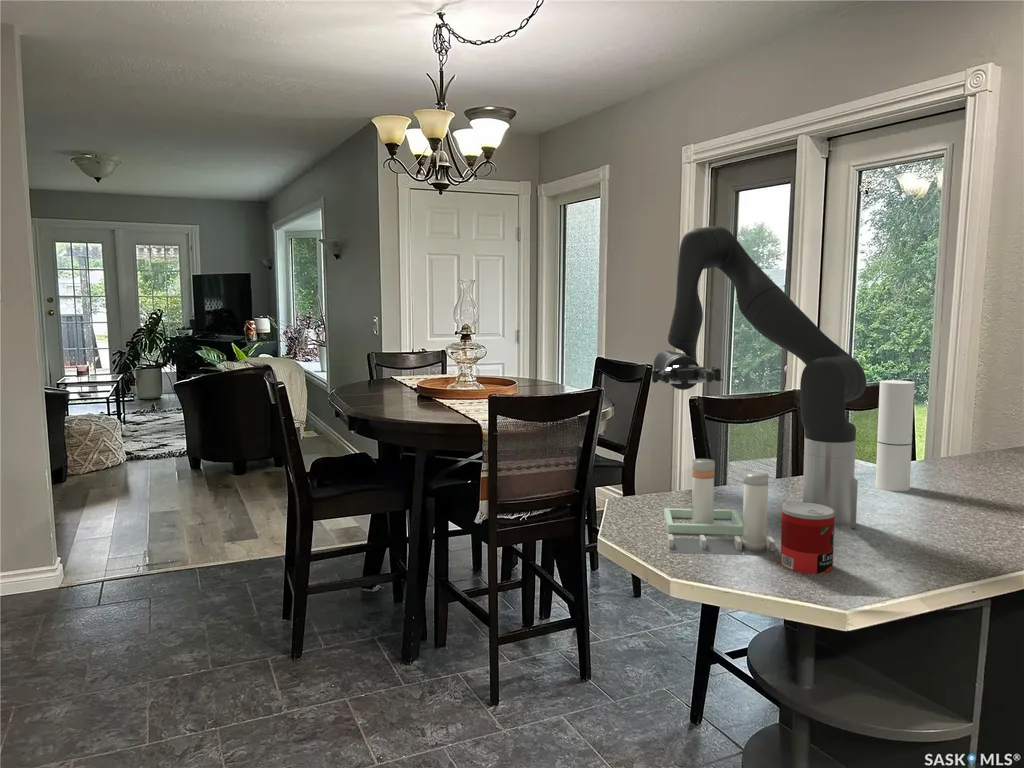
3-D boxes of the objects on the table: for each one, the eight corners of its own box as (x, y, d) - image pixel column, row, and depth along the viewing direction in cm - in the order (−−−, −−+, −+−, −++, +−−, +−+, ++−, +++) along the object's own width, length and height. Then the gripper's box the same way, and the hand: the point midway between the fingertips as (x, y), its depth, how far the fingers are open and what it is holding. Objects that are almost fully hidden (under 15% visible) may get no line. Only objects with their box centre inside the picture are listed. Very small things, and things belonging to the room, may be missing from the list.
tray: (735, 524, 146) (735, 509, 146) (745, 542, 135) (745, 526, 135) (663, 522, 148) (663, 508, 148) (668, 540, 137) (668, 524, 137)
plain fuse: (764, 543, 130) (765, 472, 128) (769, 551, 126) (770, 477, 124) (740, 543, 130) (741, 471, 129) (744, 550, 126) (745, 477, 125)
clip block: (768, 548, 132) (768, 532, 132) (778, 564, 124) (778, 547, 124) (666, 545, 134) (666, 529, 134) (669, 560, 126) (670, 544, 126)
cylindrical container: (910, 486, 173) (915, 381, 170) (908, 492, 167) (913, 384, 164) (877, 482, 177) (881, 379, 174) (873, 489, 171) (878, 382, 168)
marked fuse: (712, 524, 143) (713, 458, 142) (714, 530, 139) (716, 463, 138) (690, 523, 144) (691, 458, 142) (692, 529, 140) (693, 463, 138)
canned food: (828, 586, 114) (830, 518, 113) (775, 577, 118) (777, 510, 117) (836, 570, 121) (838, 505, 119) (785, 562, 125) (787, 499, 124)
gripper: (649, 355, 167) (653, 360, 151) (713, 354, 165) (724, 358, 149) (649, 388, 167) (653, 396, 151) (713, 387, 165) (724, 395, 149)
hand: (688, 377), depth 150 cm, fingers open, 8 cm apart
